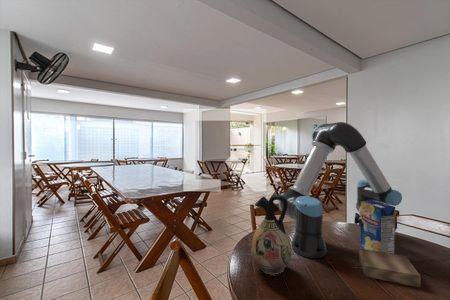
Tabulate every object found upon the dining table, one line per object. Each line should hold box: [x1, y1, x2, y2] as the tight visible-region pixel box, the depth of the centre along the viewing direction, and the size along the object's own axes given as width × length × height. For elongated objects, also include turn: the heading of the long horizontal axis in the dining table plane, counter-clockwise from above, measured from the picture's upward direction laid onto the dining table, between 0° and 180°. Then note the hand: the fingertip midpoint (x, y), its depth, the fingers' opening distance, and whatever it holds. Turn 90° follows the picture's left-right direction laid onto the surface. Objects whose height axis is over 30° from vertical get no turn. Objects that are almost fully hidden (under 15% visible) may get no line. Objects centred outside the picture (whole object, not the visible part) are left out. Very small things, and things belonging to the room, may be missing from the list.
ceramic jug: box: [250, 194, 292, 275], centre depth 84 cm, size 17×15×30 cm
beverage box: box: [359, 200, 396, 254], centre depth 96 cm, size 7×11×22 cm, turn 8°
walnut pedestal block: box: [358, 247, 422, 288], centre depth 83 cm, size 16×14×4 cm
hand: (379, 229), depth 92 cm, fingers open, 9 cm apart
